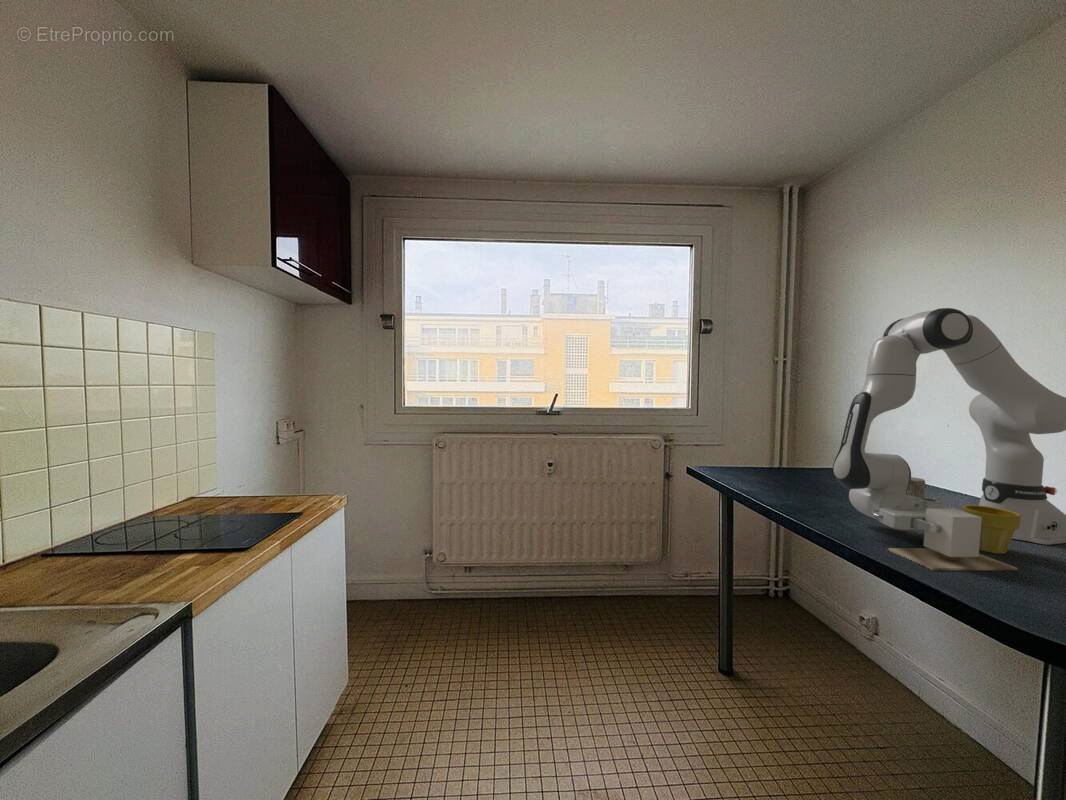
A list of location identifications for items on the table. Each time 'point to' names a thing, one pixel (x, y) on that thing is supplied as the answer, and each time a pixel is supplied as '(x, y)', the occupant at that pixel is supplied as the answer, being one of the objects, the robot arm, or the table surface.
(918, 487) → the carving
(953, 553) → the plain grey box
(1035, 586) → the table surface
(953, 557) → the brown rounded block
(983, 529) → the plant pot
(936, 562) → the cork mat
